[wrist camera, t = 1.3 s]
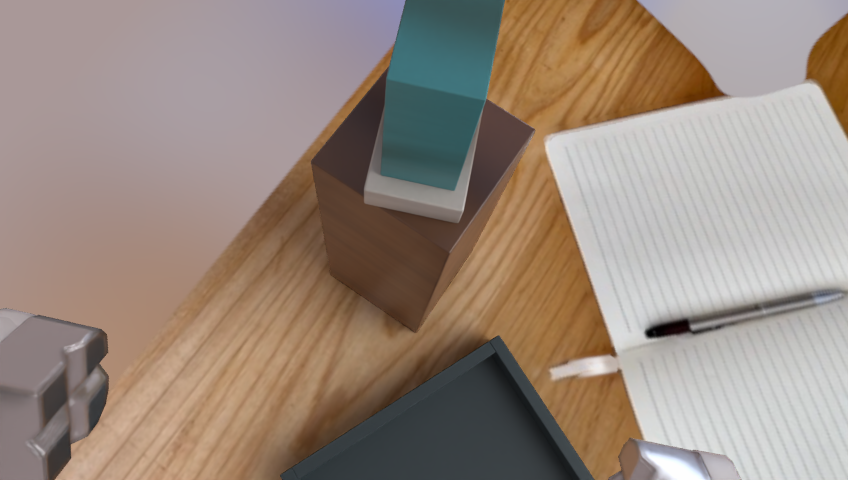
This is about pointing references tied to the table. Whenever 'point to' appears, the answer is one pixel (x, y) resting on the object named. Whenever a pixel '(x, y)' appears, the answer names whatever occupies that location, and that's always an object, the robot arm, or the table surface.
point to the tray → (455, 431)
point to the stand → (399, 231)
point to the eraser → (433, 107)
